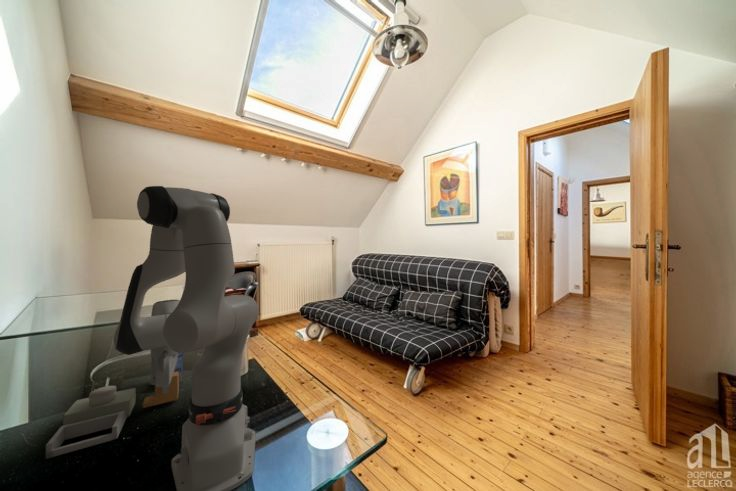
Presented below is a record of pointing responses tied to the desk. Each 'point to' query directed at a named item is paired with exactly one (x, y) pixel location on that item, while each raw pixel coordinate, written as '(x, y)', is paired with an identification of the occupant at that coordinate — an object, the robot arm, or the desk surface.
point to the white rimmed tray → (93, 419)
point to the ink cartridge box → (177, 368)
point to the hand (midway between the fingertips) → (167, 388)
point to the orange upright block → (165, 397)
